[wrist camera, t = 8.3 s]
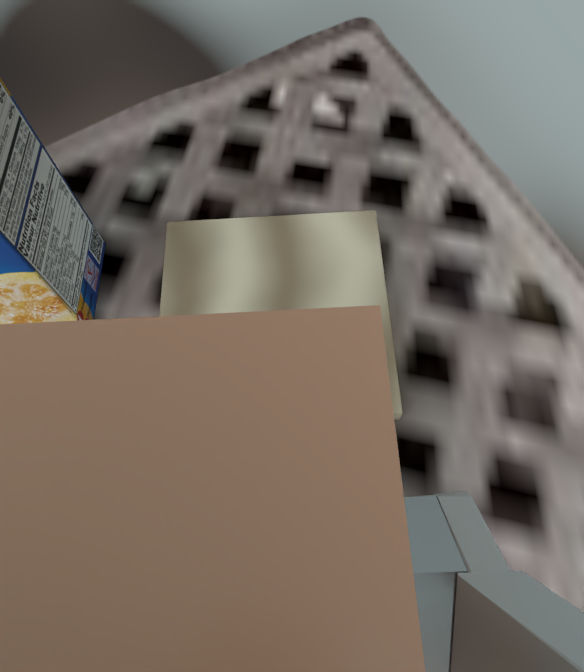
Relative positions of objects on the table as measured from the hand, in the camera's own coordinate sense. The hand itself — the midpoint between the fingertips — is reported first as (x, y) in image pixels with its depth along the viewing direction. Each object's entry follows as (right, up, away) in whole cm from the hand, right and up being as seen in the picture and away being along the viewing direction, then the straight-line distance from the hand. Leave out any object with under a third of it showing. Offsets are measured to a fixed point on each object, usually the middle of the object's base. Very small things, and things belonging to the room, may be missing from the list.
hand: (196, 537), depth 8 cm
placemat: (0, +4, +24) cm, 25 cm away
